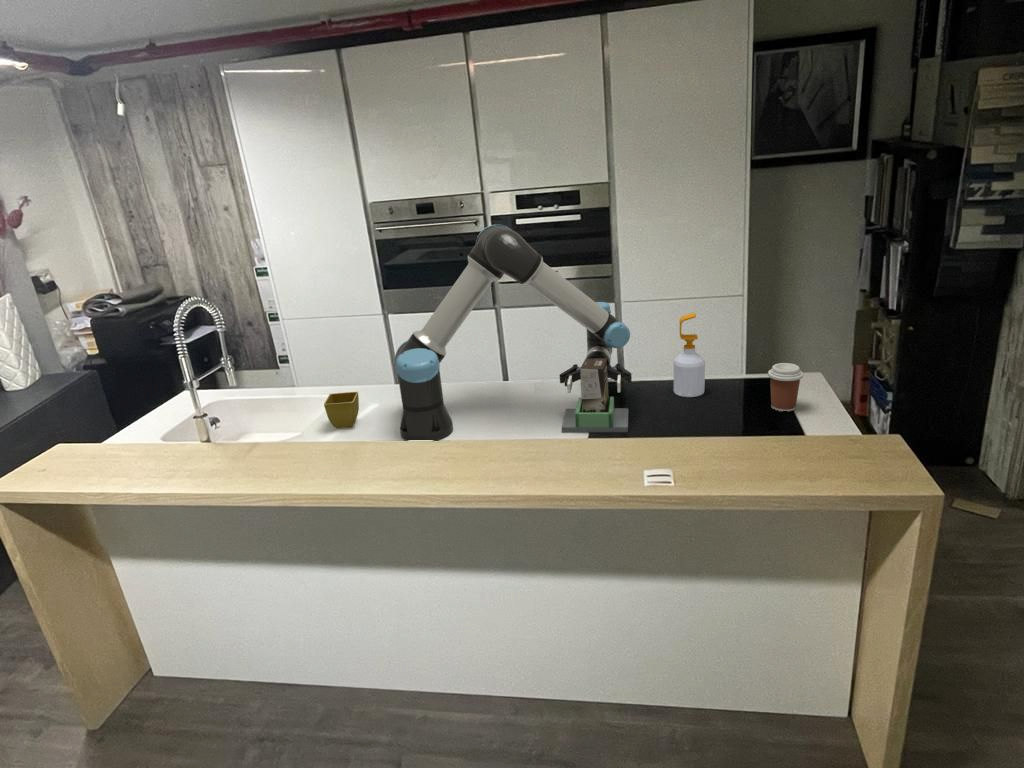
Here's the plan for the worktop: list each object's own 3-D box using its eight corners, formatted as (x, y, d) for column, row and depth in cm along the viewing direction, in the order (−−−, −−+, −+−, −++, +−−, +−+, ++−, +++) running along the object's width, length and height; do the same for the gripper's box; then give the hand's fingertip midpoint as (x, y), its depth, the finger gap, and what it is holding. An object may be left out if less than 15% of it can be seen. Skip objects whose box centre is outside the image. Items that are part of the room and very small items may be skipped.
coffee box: (605, 424, 186) (603, 368, 180) (581, 423, 188) (579, 368, 182) (609, 410, 194) (608, 357, 188) (587, 410, 196) (585, 357, 190)
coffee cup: (766, 412, 188) (769, 372, 183) (765, 400, 196) (767, 361, 191) (802, 414, 185) (805, 373, 181) (799, 401, 193) (802, 361, 189)
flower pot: (363, 418, 208) (358, 390, 205) (358, 429, 200) (353, 401, 197) (334, 420, 208) (329, 393, 205) (328, 432, 200) (323, 404, 197)
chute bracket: (561, 432, 187) (560, 414, 185) (566, 413, 199) (565, 396, 197) (627, 432, 183) (627, 413, 181) (628, 413, 195) (628, 395, 193)
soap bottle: (705, 397, 201) (707, 317, 192) (673, 397, 203) (674, 318, 194) (703, 386, 209) (704, 309, 200) (673, 387, 211) (673, 310, 202)
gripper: (640, 373, 203) (640, 400, 183) (557, 374, 207) (549, 401, 188) (639, 349, 200) (639, 374, 181) (556, 351, 205) (547, 376, 185)
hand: (593, 388), depth 184 cm, fingers open, 13 cm apart
